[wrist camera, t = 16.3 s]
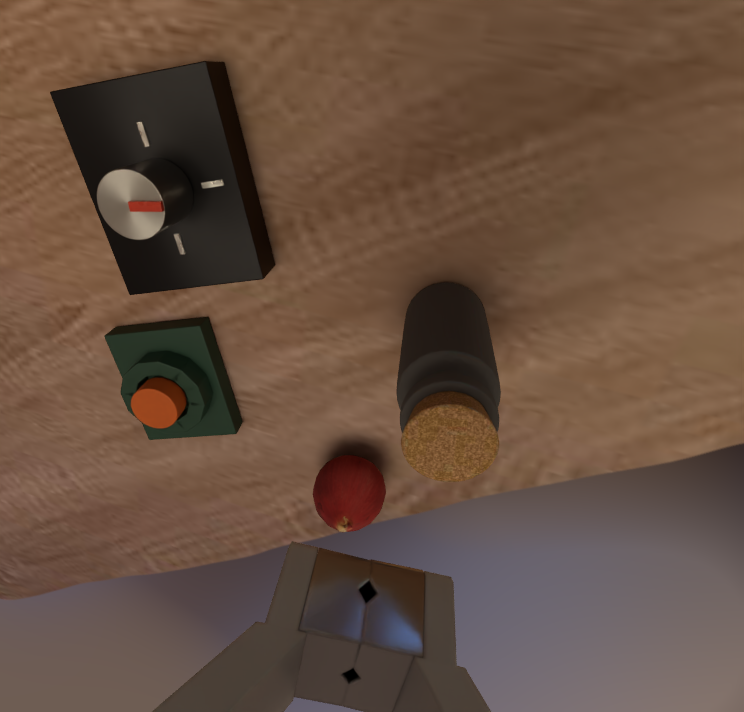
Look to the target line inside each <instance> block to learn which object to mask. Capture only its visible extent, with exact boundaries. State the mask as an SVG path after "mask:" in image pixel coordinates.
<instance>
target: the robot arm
mask: <svg viewBox="0 0 744 712" xmlns="http://www.w3.org/2000/svg"><path fill="white" fill-rule="evenodd" d="M317 553H318V554H317ZM453 587H454V586H453V580H452V578H451V577H449V576H444V575H439V574H434V573H430V572H426V571H424V572H423V570H419V569H414V568H410V567H405V566H400V565H395V564H390V563H385V562H381V561H376V560H367V559H363V558H359V557H355V556H351V555H347V554H343V553H339V552H334V551H330V550H327V549H323V548H319V550H318V547H314V546H310V545H305V544H301V543H297V542H293V541H292V542H291V544H290V546H289V548H288V551H287V554H286V557H285V560H284V564H283V567H282V570H281V573H280V576H279V580H278V583H277V586H276V589H275V592H274V596H273V599H272V602H271V605H270V609H269V612H268V615H267V618H266V621H265V623H262V622H255V623H254V624H253V625H252V626H251V627H250V628H249V629H247V630H246V631H245V632H244V633H243V634H242V635H240V636H239V637H238V638H237V639H236V640H235V641H233V642H232V643H231V644H230V645H229V646H228V647H226V648H225V649H224V650H223V651H222V652H221V653H219V654H218V655H217V656H216V657H215V658H214V659H213V660H211V661H210V662H209V663H208V664H207V665H206V666H204V667H203V668H202V669H201V670H200V671H199V672H197V673H196V674H195V675H194V676H193V677H192V678H191V679H189V680H188V681H187V682H186V683H185V684H184V685H183V686H181V687H180V688H179V689H178V690H177V691H175V692H174V693H173V694H172V695H171V696H170V697H168V698H167V699H166V700H165V701H164V702H163V703H161V704H160V705H159V706H158V707H157V708H156V709H155V710H153V712H284V711H285V709H286V708H287V707H288V706H289V705H290V703H291V702H292V701H293V698H294V697H297V698H303V699H308V700H313V701H318V702H323V703H329V704H334V705H339V706H344V707H348V708H351V709H355V710H359V711H364V712H491V711H490V709H489V707H488V706H487V704H486V702H485V701H484V699H483V697H482V696H481V694H480V692H479V691H478V689H477V687H476V686H475V684H474V682H473V681H472V679H471V677H470V676H469V674H468V672H467V670H466V669H465V668H463V667H460V666H457V663H456V638H455V612H454V588H453Z"/></svg>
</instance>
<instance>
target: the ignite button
mask: <svg viewBox="0 0 744 712" xmlns="http://www.w3.org/2000/svg"><path fill="white" fill-rule="evenodd" d="M185 407H186V396H185V394H184V392H183V390H182V389H181V388H180V387H179V386H178V385H177V384H176V383H175V382H173V381H171V380H169V379H166V378H162V377H155V378H151V379H149V380H147V381H146V382H145V383H144V384H143V385H142V386H141V387H140V388H139V389H138V390H137V391H136V392H135V393H134V395H133V396H132V399H131V408H132V411H133V413H134V414H135V416H136V417H137V418H138V419H139V420H140V421H141V422H142V423H144V424H146V425H148V426H150V427H153V428H167V427H169V426H171V425H173V424H174V423H175V421H176V420H177V419H178V417H179V416H180V415H181V413H182V412H183V411H184V409H185Z"/></svg>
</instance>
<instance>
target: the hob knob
mask: <svg viewBox="0 0 744 712" xmlns="http://www.w3.org/2000/svg"><path fill="white" fill-rule="evenodd" d="M97 203H98V207H99V210H100V212H101V215H102V216H103V218H104V220H105V221H106V222H107V224H108V225H109V226H110V227H111V228H112V229H113V230H114V231H116V232H117V233H119V234H120V235H122V236H124V237H126V238H129V239H134V240H145V239H149V238H151V237H153V236H155V235H157V234H158V233H160V232H162V231H164V230H165V229H167V228H169V227H171V226H172V225H174V224H176V223H177V222H179V221H181V220H183V219H184V218H185V217H186V216H187V215H188V214H189V212H190V210H191V208H192V205H193V191H192V187H191V184H190V182H189V180H188V178H187V176H186V175H185V174H184V172H183V171H182V170H181V169H180V168H179V167H177V166H176V165H175V164H173V163H171V162H169V161H167V160H164V159H158V158H153V159H148V160H145V161H141V162H138V163H135V164H131V165H128V166H125V167H122V168H118V169H115V170H112V171H110V172H108V173H107V174H106V175H105V176H104V177H103V178H102V179H101V181H100V183H99V185H98V189H97Z"/></svg>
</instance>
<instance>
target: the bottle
mask: <svg viewBox="0 0 744 712" xmlns="http://www.w3.org/2000/svg"><path fill="white" fill-rule="evenodd" d="M500 393H501V391H500V382H499V377H498V371H497V366H496V361H495V356H494V351H493V346H492V341H491V337H490V332H489V327H488V323H487V318H486V314H485V310H484V307H483V305H482V303H481V301H480V299H479V298H478V297H477V296H476V295H475V294H474V293H473V292H472V291H471V290H469V289H468V288H466V287H464V286H462V285H459V284H455V283H437V284H433V285H430V286H428V287H426V288H424V289H423V290H421V291H420V292H419V293H418V294H417V295H416V296H415V297H414V298H413V299H412V301H411V303H410V304H409V307H408V309H407V313H406V318H405V324H404V332H403V340H402V347H401V355H400V364H399V372H398V380H397V401H398V404H399V408H400V410H401V412H400V426H401V430H402V433H403V434H402V439H401V446H402V450H403V454H404V456H405V458H406V460H407V461H408V463H409V464H410V465H411V466H412V467H413V468H414V469H415V470H416V471H417V472H419V473H420V474H422V475H424V476H426V477H428V478H431V479H434V480H438V481H443V482H459V481H464V480H468V479H471V478H473V477H475V476H477V475H479V474H481V473H483V472H484V471H485V470H486V469H488V467H489V466H490V465H491V464H492V463H493V461H494V460H495V457H496V455H497V452H498V448H499V438H498V434H497V431H498V427H499V414H498V406H499V402H500Z"/></svg>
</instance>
